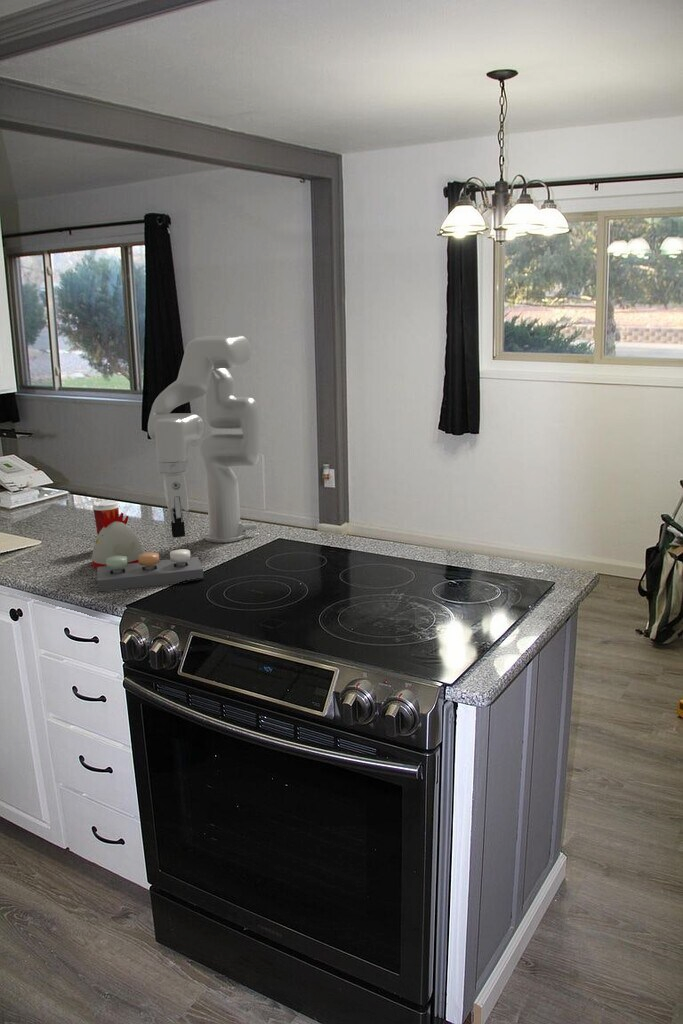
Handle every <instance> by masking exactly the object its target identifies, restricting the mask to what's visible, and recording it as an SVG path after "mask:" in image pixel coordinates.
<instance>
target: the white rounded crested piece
mask: <svg viewBox="0 0 683 1024" xmlns="http://www.w3.org/2000/svg"><path fill="white" fill-rule="evenodd" d="M99 520H100V521H101V523H102V525H103V526H104V527H103V528H102V530H101V531H100V532H99V534H97V536H96V538H95V541H94V545H93V550H92V554H91V563H92V567H93V568H95V569H97V567H103V566H107V565H106V559H107V558H109V557H112V556H126V557H127V563H128V564H132V563H139V560H138V556H139V555H140V554H143V553H144V549H143V547H142V544H141V542H140V540H139V538H138V536H137V534H136V533H135V532H134V530H133V529H132V528H131V527H130V526H129V525H128V521H129V516H128V515H126V517H125V519H124V512H121V513H119V514H118V511H117V510H115V516H113V512H112V511H110V517H109V519H108V517H107V515H106V513H105V512H104V520H102V519H101V518H99Z"/></svg>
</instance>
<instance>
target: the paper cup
mask: <svg viewBox="0 0 683 1024" xmlns="http://www.w3.org/2000/svg"><path fill="white" fill-rule="evenodd" d="M92 505H93V506H92V510H93V514H94V520H95V526H96V528H95V529H96V534H97V535H98V534H99V532H100V531H101V530H102V528H103V527H104V526H103V525H102V523H101V521H100V520H99V518H101V519H102V520H104V512H105V513H106V515H107V517H108V519H109V517H110V511H112V512H113V516H115V510H117V511H118V514H119V515H120V513H119V512H120V511H119V508H120V505H119V503H118V501H116V500H101V501H96V502H93V504H92Z"/></svg>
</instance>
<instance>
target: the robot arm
mask: <svg viewBox="0 0 683 1024" xmlns="http://www.w3.org/2000/svg"><path fill="white" fill-rule="evenodd" d="M251 353H252V351H251V344H250V342H249V340H248V339H247V338H246V337H245V336H244V335H207V336H199V337H196V338H194V339H191V340H190V341H189V342H188V343H187V345H186V346H185V350H184V354H183V357H182V360H181V365H180V367H179V370H178V375H177V378H176V380H175V381H173V382H172V383H171V384H169V385H168V386H167V387H166V388H164V390H162V391H161V392H160V393H158V396H157V397H156V398H155V400H154V402H153V403H152V405H151V410H150V412H149V416H148V422H147V434H148V436H149V437H150V439H151V440H153V441H154V442H155V450H156V460H157V462H156V463H157V464H156V465H157V473H158V475H161V476H163V486H164V495H165V496H164V497H165V502H166V506H167V509H168V512H169V513H170V516H171V521H170V526H171V536H172V538H173V539H174V538H183V537H186V529H185V521H184V512H183V510H184V511H185V512H188V511H189V510H190V509H189V500H188V489H187V481H186V474H187V473H189V464H188V463H189V461H188V451H187V444H189V443H195V442H198V440H200V439H201V438H202V436H203V434H204V431H205V424H204V420H203V418H201V416H200V415H198V414H196V413H191V412H190V413H189V412H188V413H187V412H186V413H185V412H184V413H183V412H180V413H179V412H178V413H176V412H175V413H174V412H173V413H172V411H174V410H175V409H176V408H178V407H180V406H181V405H184V404H187V403H189V402H192V401H194V400H197V399H199V398H200V397H203V396H204V401H205V402H204V403H205V406H204V407H205V411H204V412H205V413H204V414H205V421H206V424H207V427H209V428H211V429H213V430H214V429H215V430H241V433H213V434H209V435H207V436H205V437H203V438H202V440H201V442H200V445H199V446H200V448H199V450H200V455H201V461H202V464H203V469H204V474H205V488H206V501H207V502H206V503H207V515H208V516H207V517H208V529H209V530H208V532H206V533H204V540H205V541H207V542H210V543H219V544H220V543H221V544H222V543H233V542H237V541H241V540H243V539H245V538H246V537H247V531H254V530H255V531H256V530H257V523H251V522H246V523H244V522H243V521H241V511H240V510H241V509H240V496H239V495H240V494H239V481H238V477H237V475H236V474H235V472H234V470H233V469H232V468H231V467H253V466H255V465H257V463H258V462H259V460H260V453H261V451H260V450H261V448H260V447H261V425H260V424H261V423H260V420H261V418H260V417H261V416H260V409H259V405H258V402H257V401H256V400H255V399H254V398H253V397H250V396H235V381H234V378H233V376H232V374H231V373H230V371H229V370H228V369H236V368H239V367H240V368H241V367H243V366H245V365H246V364H248V362H249V361H250V358H251Z"/></svg>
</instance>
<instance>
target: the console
mask: <svg viewBox="0 0 683 1024" xmlns="http://www.w3.org/2000/svg"><path fill="white" fill-rule="evenodd" d="M190 558H191V559H190V560H189V561H186V562H185V564H186V566H183V567H176V562H171V561H170V559H162V560H160V559H159V563H158V564H155V565H154V570H145V566H142V565H139V563H132V564H128V566H127V567H124V568H122V571H123V573H117V574H113V569H108V568H107V566H103V567H97V568H96V569H97V570H96V571H97V572H96V573H97V574H96V575H97V587H98V592H99V591H103V592H108V591H107V590H112V591H117V590H116V589H121V590H128V588H130V589H137V588H139V589H140V588H145V587H155V586H165V585H172V584H179V583H178V582H182V581H185V580H190V579H196V578H204V568H203V566H202V563H201V561H200V558H199V556H190Z"/></svg>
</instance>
